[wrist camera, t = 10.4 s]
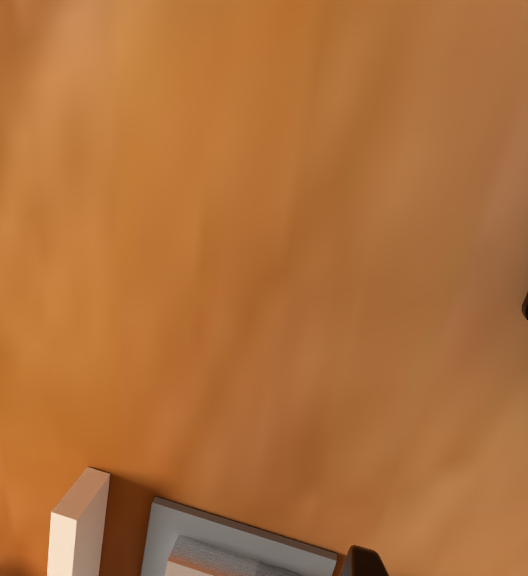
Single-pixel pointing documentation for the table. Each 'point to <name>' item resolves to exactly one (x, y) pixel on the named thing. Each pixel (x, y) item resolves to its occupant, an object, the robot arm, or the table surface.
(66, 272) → the table surface
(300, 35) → the table surface
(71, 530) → the white l-shaped block
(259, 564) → the aluminium bracket
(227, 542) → the pad
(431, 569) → the table surface
